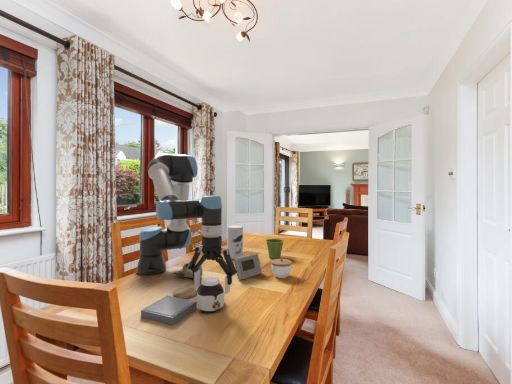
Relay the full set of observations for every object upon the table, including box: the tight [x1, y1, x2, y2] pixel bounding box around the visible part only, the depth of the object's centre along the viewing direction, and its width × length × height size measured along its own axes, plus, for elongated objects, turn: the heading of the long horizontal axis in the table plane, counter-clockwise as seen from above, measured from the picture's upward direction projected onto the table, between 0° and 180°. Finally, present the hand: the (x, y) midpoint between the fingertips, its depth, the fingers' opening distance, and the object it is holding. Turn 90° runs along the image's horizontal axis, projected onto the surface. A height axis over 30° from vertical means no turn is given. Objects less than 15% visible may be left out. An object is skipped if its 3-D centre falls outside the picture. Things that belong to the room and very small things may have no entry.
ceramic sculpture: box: [173, 260, 203, 279], centre depth 140 cm, size 11×9×15 cm
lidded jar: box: [270, 257, 293, 279], centre depth 142 cm, size 11×11×9 cm
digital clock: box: [233, 252, 263, 281], centre depth 142 cm, size 16×9×11 cm, turn 122°
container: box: [226, 225, 244, 260], centre depth 177 cm, size 10×10×20 cm
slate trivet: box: [140, 295, 198, 326], centre depth 102 cm, size 14×14×3 cm
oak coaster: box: [172, 286, 198, 300], centre depth 119 cm, size 10×10×1 cm
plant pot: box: [265, 238, 285, 260], centre depth 177 cm, size 12×12×11 cm
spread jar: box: [196, 275, 226, 314], centre depth 107 cm, size 12×11×12 cm
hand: (212, 290), depth 106 cm, fingers open, 13 cm apart
